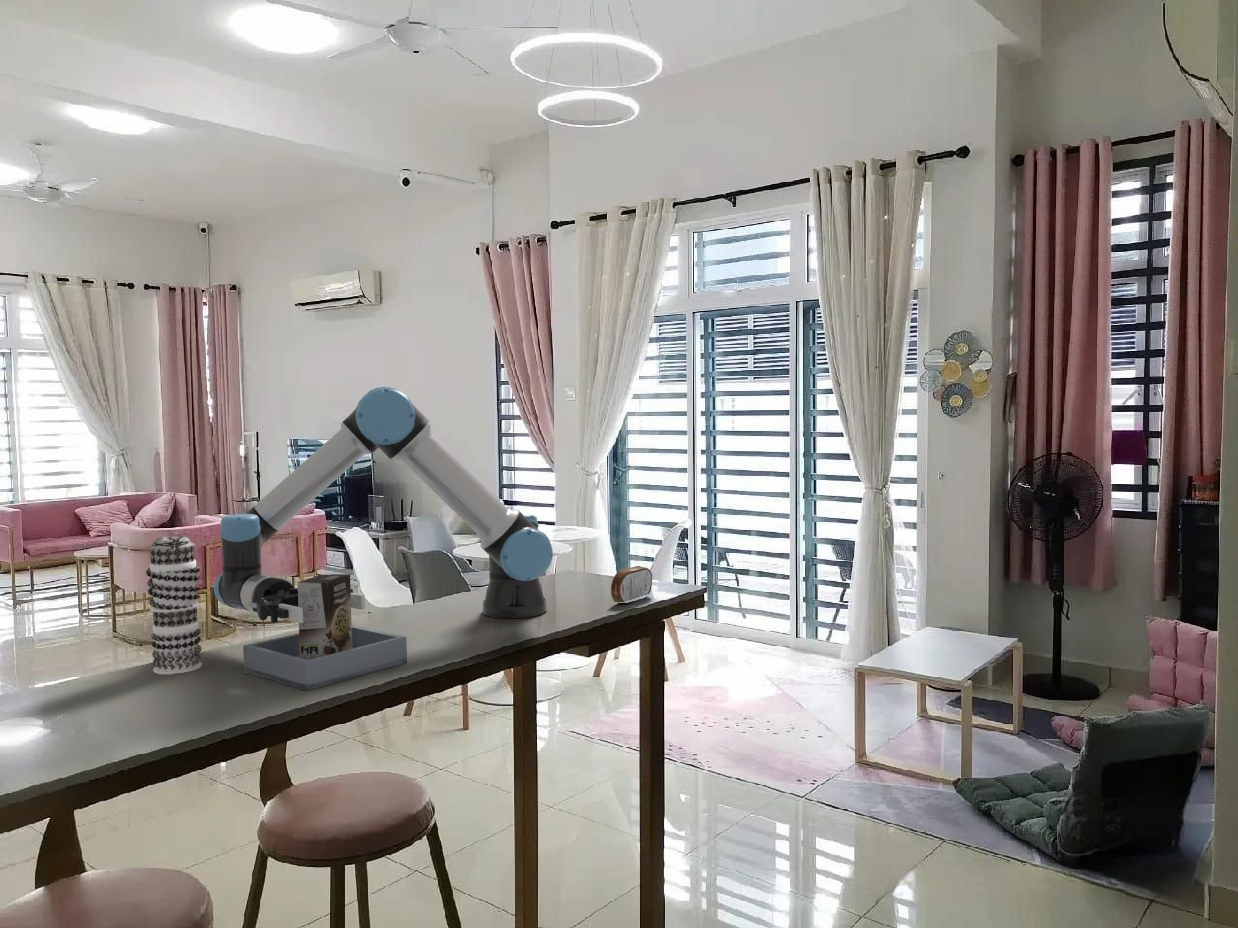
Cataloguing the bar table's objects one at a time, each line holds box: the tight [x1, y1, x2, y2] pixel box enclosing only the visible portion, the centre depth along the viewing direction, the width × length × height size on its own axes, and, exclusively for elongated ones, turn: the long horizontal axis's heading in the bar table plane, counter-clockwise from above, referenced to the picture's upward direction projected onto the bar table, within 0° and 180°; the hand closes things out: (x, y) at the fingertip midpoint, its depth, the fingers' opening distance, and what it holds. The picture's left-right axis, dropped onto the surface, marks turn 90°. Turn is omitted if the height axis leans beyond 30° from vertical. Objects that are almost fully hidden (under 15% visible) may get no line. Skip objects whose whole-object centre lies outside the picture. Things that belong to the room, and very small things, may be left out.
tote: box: [242, 624, 408, 692], centre depth 177 cm, size 22×20×5 cm
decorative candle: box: [145, 535, 203, 675], centre depth 178 cm, size 9×9×25 cm
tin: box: [610, 565, 653, 603], centre depth 234 cm, size 15×3×8 cm, turn 144°
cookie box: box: [297, 573, 353, 660], centre depth 177 cm, size 9×6×16 cm
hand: (333, 608), depth 175 cm, fingers open, 13 cm apart
